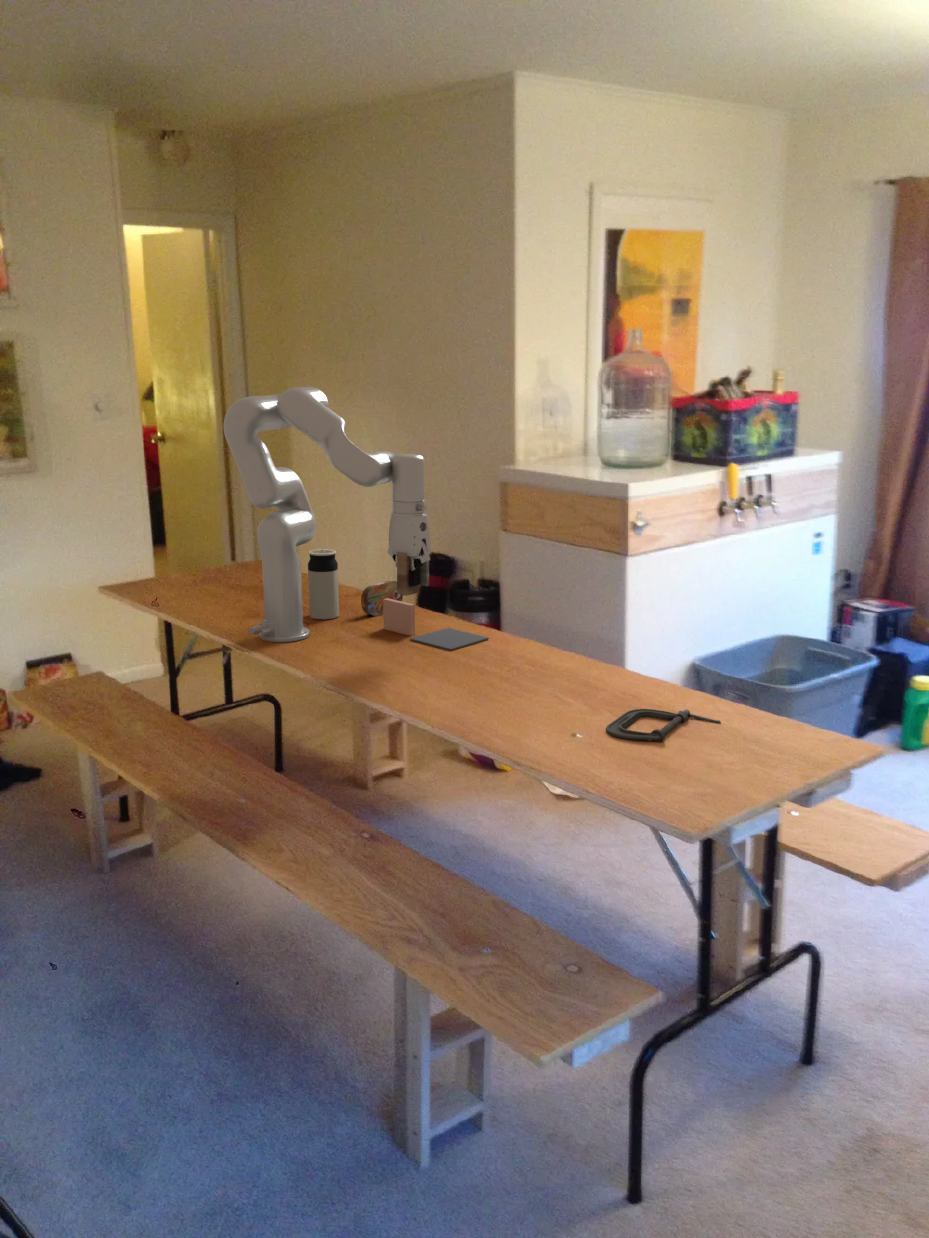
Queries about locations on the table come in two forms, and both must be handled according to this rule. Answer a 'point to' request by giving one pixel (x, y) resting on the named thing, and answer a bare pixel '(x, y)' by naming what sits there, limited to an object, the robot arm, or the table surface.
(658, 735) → the c clamp
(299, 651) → the table surface
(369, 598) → the tin
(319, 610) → the travel mug
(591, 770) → the table surface
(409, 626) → the tile
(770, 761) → the table surface
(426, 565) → the brown grey block
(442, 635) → the mat
